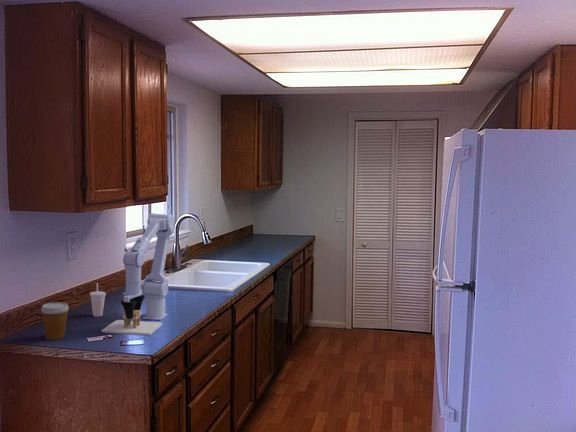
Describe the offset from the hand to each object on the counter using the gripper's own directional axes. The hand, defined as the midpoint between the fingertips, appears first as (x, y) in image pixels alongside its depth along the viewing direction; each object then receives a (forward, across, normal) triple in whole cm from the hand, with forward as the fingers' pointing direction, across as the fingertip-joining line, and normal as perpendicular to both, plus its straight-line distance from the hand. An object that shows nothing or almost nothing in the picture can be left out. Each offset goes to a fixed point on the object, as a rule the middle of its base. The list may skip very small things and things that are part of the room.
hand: (132, 316), depth 219 cm
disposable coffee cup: (+5, +17, -23) cm, 29 cm away
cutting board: (+5, 0, 0) cm, 5 cm away
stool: (+4, 0, 0) cm, 4 cm away
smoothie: (+5, -15, -21) cm, 26 cm away
